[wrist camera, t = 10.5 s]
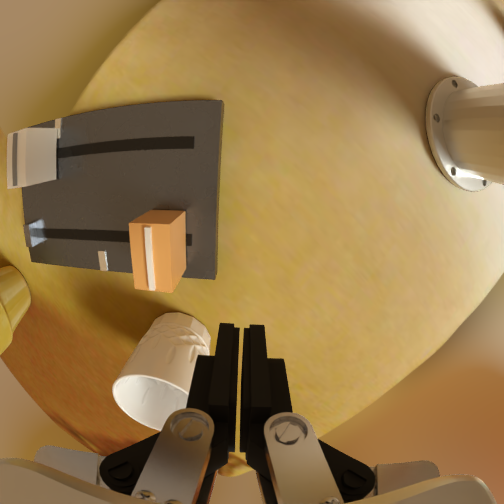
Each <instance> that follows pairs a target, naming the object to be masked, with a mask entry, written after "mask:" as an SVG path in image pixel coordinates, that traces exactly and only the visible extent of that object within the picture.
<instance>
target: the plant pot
mask: <svg viewBox="0 0 504 504" xmlns="http://www.w3.org/2000/svg"><path fill="white" fill-rule="evenodd" d="M30 303H31V295H30V291H29V288H28V285H27V283H26V281H25V279H24V277H23V276H22V274H21V273H20V272H19V271H18V270H17V269H16V268H15V267H13V266H5V267H2V268H0V355H1V354H2V352H3V351H4V350H5V349H6V348H7V347H8V346H9V344H10V343H11V341H12V333H13V331H14V330H15V328H16V326H17V325H18V323H19V322H20V320H21V319H22V317H23V316H24V314H25V313H26V311H27V310H28V308H29V306H30Z"/></svg>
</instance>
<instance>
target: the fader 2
mask: <svg viewBox="0 0 504 504" xmlns="http://www.w3.org/2000/svg"><path fill="white" fill-rule="evenodd" d="M129 235H130V247H131V258H132V268H133V277H134V285H135V289H140V290H149V291H159V292H170V293H173V291H174V290H175V288H176V286H177V284H178V282H179V280H180V279H181V277H182V275H183V273H184V271H185V270H186V224H185V211H178V210H150V211H148V212H146V213H145V214H143V215H141V216H140V217H138V218H136V219H135V220H133V221H131V222H130V223H129Z"/></svg>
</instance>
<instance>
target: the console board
mask: <svg viewBox="0 0 504 504" xmlns="http://www.w3.org/2000/svg"><path fill="white" fill-rule="evenodd" d="M223 114H224V103H223V101H222V100H195V101H172V102H158V103H147V104H138V105H129V106H122V107H115V108H108V109H102V110H97V111H91V112H86V113H81V114H77V115H72V116H68V117H64V118H58V119H55V120H52V121H48V122H44V123H41V124H38V125H34V126H31V127H28V128H57V143H56V180H51V181H47V182H42V183H38V184H34V185H30V186H26V187H22V197H23V209H24V218H25V224H24V225H23V226H24V233H25V240H26V246H27V247H29V251H30V257H31V262H36V263H44V264H52V265H60V266H69V267H77V268H86V269H96V270H101V271H115V272H126V273H133V268H132V258H131V247H130V235H129V223H130V222H131V221H133V220H135V219H136V218H138V217H140V216H141V215H143V214H145V213H146V212H148V211H150V210H178V211H185V224H186V270H185V271H184V273H183V275H182V277H184V278H198V279H212V280H215V278H216V275H217V251H218V213H219V186H220V164H221V145H222V129H223Z"/></svg>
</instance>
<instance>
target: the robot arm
mask: <svg viewBox="0 0 504 504" xmlns="http://www.w3.org/2000/svg"><path fill="white" fill-rule="evenodd" d="M426 131H427V136H428V141H429V145H430V148H431V151H432V154H433V156H434V158H435V161H436V163H437V165H438V167H439V168H440V170H441V171H442V173H443V174H444V176H445V177H446V178H447V179H448V180H449V181H450V182H451V183H452V184H454V185H455V186H456V187H458V188H460V189H463V190H466V191H470V192H478V191H481V190H484V189H485V188H487V187H488V186H489V185H490V184H491V183H492V182H495V183H499V184H503V185H504V83H501V84H494V85H487V86H480V87H478V86H477V85H475V84H474V83H473V82H471V81H469V80H467V79H465V78H462V77H449V78H446V79H443V80H441V81H440V82H438V83H437V84H436V85H435V86H434V88H433V89H432V90H431V93H430V95H429V98H428V102H427V106H426ZM239 330H240V328H235V327H234V324H230V323H220V325H219V332H218V338H217V345H216V352H215V356H209V355H198V356H197V359H196V363H195V368H194V372H193V377H192V381H191V386H190V390H189V395H188V400H187V404H186V408H185V409H180V410H177V411H175V412H173V413H172V414H171V415H170V416H169V417H168V418H167V420H166V422H165V424H164V426H163V428H162V430H161V432H159V433H157V434H155V435H153V436H151V437H149V438H146V439H144V440H142V441H140V442H138V443H136V444H133V445H131V446H129V447H127V448H124V449H122V450H120V451H117V452H115V453H113V454H110V455H109V456H107V457H105V456H99V454H97V453H89V452H83V451H76V450H70V449H65V448H60V447H55V446H44V447H41V448H40V449H39V450H38V451H37V453H36V455H35V459H34V462H33V461H30V460H25V459H19V458H3V459H0V504H209V502H210V498H211V494H212V491H213V487H214V483H215V480H216V476H217V472H218V469H219V468H221V467H222V466H224V465H225V464H227V463H228V456H229V452H235V431H236V406H237V379H238V354H239ZM240 452H246V460H247V464H248V465H249V466H250V467H252V468H253V469H254V470H256V476H257V480H258V485H259V489H260V493H261V498H262V502H263V504H497V503H496V501H495V499H494V497H493V495H492V493H491V492H490V490H489V488H488V487H487V486H486V484H485V483H484V482H483V481H482V480H481V479H479V478H478V477H476V476H473V475H464V474H457V475H448V476H441V477H440V474H439V470H438V468H437V466H436V465H435V464H434V463H432V462H430V461H415V462H406V463H394V464H377V465H376V466H375V467H368V466H367V465H365V464H363V463H362V462H360V461H358V460H356V459H353V458H352V457H350V456H348V455H346V454H344V453H342V452H340V451H338V450H337V449H335V448H333V447H331V446H330V445H328V444H326V443H324V442H322V441H321V440H319V439H317V437H316V434H315V432H314V430H313V427H312V425H311V424H310V422H309V421H308V420H307V419H306V418H305V417H303V416H301V415H299V414H296V413H293V412H292V405H291V399H290V393H289V387H288V381H287V374H286V368H285V362H284V359H273V358H267V349H266V338H265V327H264V325H250V328H244V339H243V356H242V374H241V409H240Z"/></svg>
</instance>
